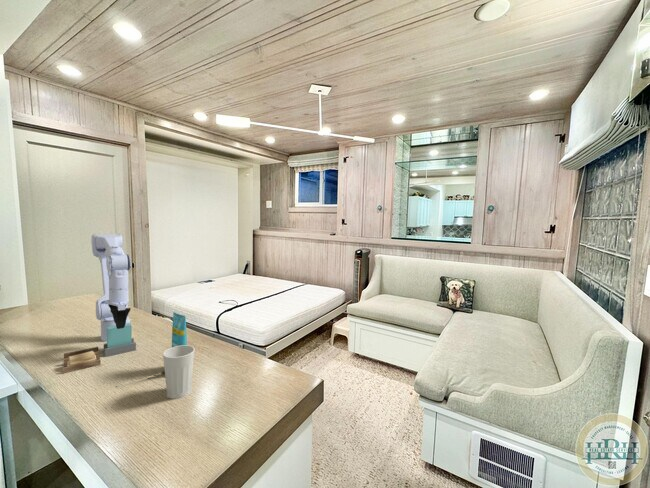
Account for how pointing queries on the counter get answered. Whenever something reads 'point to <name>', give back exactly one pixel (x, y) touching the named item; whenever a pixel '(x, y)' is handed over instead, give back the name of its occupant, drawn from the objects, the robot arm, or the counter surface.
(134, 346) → the holder
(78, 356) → the offcut top
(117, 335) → the teal block
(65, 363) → the rack
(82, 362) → the offcut low
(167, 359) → the cup
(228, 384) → the counter surface
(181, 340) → the tube
